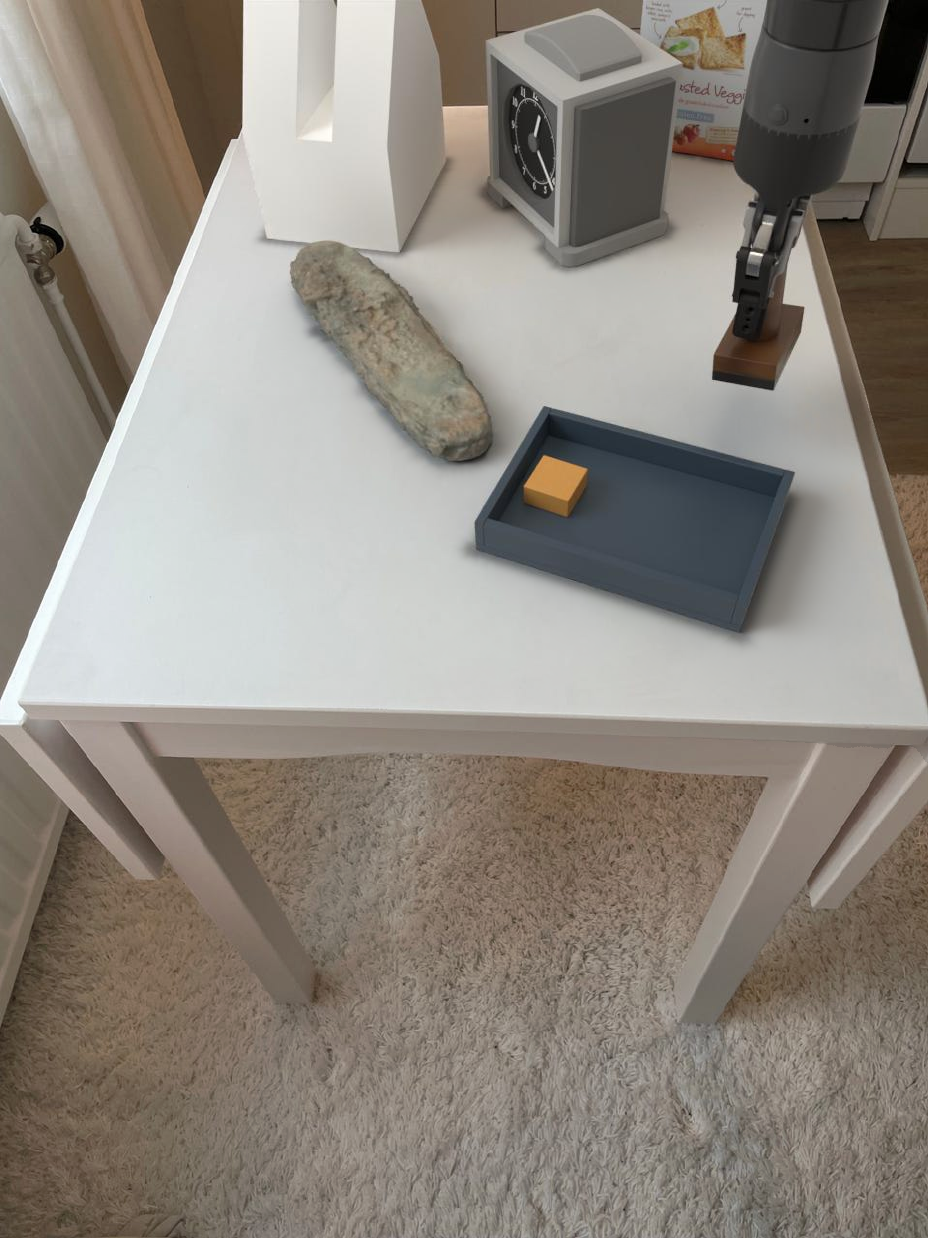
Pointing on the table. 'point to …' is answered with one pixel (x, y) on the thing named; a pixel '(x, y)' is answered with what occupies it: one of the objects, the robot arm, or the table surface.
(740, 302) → the robot arm
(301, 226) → the white slotted tapered block
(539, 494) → the orange squat block
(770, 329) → the rubber stamp
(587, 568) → the tray
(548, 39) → the alarm clock
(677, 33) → the cracker box
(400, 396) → the elongated rock
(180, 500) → the table surface
